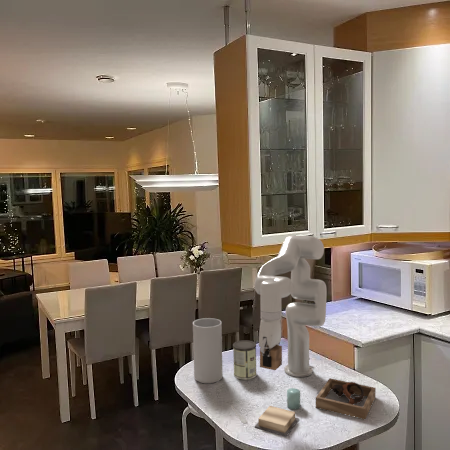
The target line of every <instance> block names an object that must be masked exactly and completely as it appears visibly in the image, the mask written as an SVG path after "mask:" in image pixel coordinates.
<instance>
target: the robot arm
mask: <svg viewBox="0 0 450 450" xmlns="http://www.w3.org/2000/svg"><path fill="white" fill-rule="evenodd" d="M324 252H325V246H324V243H323V241H322V240H320V239H319V238H318V237H315V236H311V235H288V236H286V237H285V238H284V240H283V242H282V244H281V246H280V249H279V252H278V254H277V256H276V257H274V258H272V259H270V260H269V261H267V262H265V263H264V264H263V265H262V266H261V267H260V269H259V270H258V273H257V275H256V277H255V279H254V284H253V285H254V291H255V292H256V293H257V295H260V323H259V332H258V346H259V352H260V351H261V352H262V356H263V366H265V367H271V356H270V355H271V348H273V347H274V346H276V345H279V346H280V344H281V341H282V322H281V321H282V313H283V312H282V299H283V298H288V297H289V296H291V298H293V299H295V300H302V301H303V300H304V301H310V302H311V301H313V302H314V303H308V302H298V301H297V302H295V301H293V302H290V303H288V304H287V305H286V308H285V318H286V325H287V364H286V365H285V366H284V373H285V374H287V375H288V376H291V377H294V378H295V377H296V378H306V377H309V376H310V375H312V374H313V373H314V371H313V370H314V369H313V368H312V366H310V359H311V358H310V333H309V330H308V328H307V326H308V327H309V326H311V327H319V328H320V327H323V326H324V324H325V323H326V317H327V316H326V315H327V314H326V312H327V285H326V282H325V281H324V280H322V279H317V278H316V279H315V278H311V266H310V263H309V262H308V261H307V260H320V259H322V258H323V256H324ZM289 272H291V273H290V277H287V276H279V275H283V274H286V273H289ZM266 345H267V346H269V347H266ZM266 349H269V350H268V352H267V351H266Z"/></svg>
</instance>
